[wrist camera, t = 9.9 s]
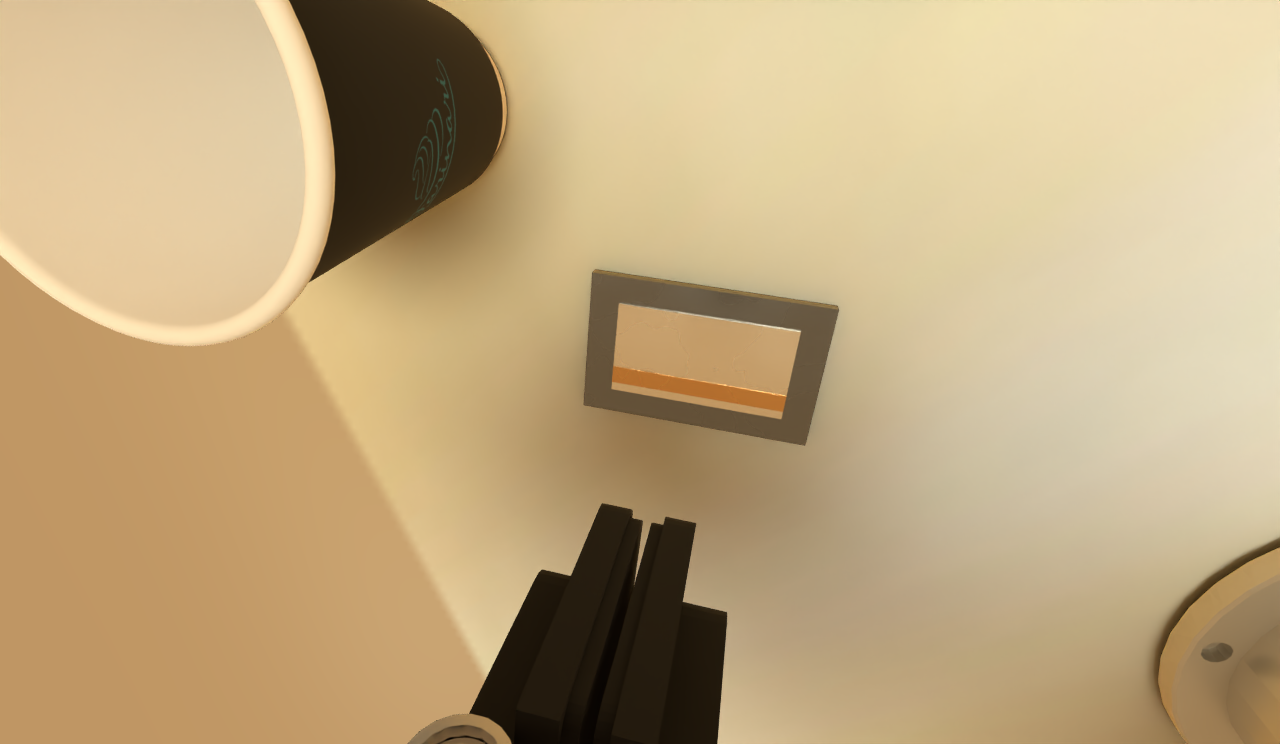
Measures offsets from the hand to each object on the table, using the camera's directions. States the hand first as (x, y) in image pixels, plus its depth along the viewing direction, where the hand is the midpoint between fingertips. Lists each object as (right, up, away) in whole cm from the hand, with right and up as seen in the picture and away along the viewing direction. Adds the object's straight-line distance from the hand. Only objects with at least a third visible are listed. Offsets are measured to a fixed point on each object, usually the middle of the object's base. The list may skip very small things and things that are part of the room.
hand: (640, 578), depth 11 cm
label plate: (+2, +4, +10) cm, 11 cm away
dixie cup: (-6, +12, +9) cm, 16 cm away
